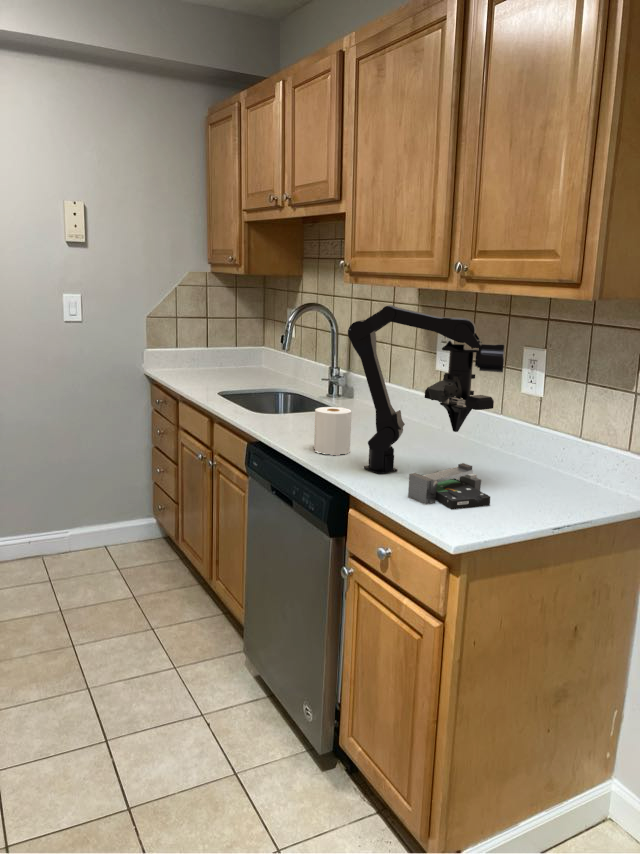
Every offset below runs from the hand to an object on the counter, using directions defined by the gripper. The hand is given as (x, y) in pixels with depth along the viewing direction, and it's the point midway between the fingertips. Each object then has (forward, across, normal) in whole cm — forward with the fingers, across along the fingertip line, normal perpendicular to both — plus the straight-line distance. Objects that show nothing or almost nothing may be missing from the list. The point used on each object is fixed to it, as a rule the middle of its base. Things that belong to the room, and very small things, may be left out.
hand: (455, 431), depth 178 cm
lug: (+12, +10, -4) cm, 16 cm away
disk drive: (+13, +12, -12) cm, 21 cm away
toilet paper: (+12, -36, -12) cm, 40 cm away
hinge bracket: (+12, +10, -20) cm, 25 cm away
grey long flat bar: (+7, +10, -12) cm, 17 cm away
